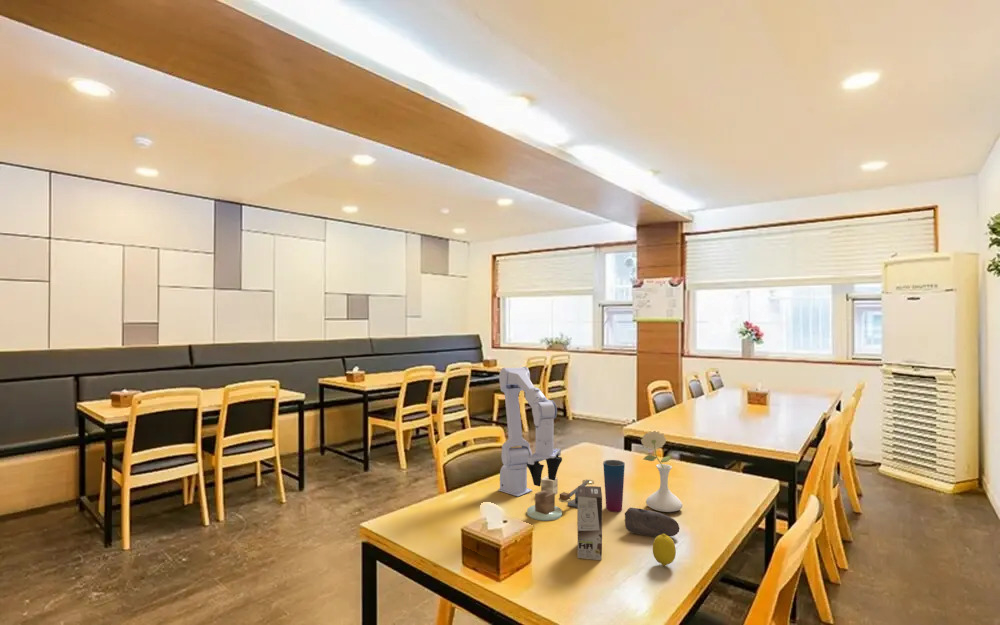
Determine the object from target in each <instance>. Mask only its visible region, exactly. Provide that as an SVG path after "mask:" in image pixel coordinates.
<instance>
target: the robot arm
mask: <svg viewBox="0 0 1000 625" xmlns="http://www.w3.org/2000/svg"><path fill="white" fill-rule="evenodd" d="M498 377H499V378H498V380H499V387H500V391H501V392H502V393H504V400H505V411H506V413H505V414H506V421H507V422H506V423H507V425H506V426H507V432H508V434H507V436H508V439H507V440H505V442H504V443H503V444H502V445H501V455H500V456H501V462H502V464H503V465H502V466H501V468H500V471H499V488H498V491H499V492H503V493H506V494H508V495H512V496H515V497H520V496H523V495H525V494H527V493H531V492H533V489H531V488H529V487H528V485H527V484H528V480H527V479H528V470H529V472H530V475H531V478H532V483H533V485H534V486H537V487H541V479H542V475H543V470H544V467H545V465H544V464H542V463H540V462H542V461H545V462H546V466H547V476H548V477H549V479H550V480H555V478H557V473H558V470H559V467H560V466H561V463H562V462H563V457H561V452H562V451H561V449H560V448H554V445H555V444H554V439H555V436H554V435H555V434H554V430H555V428H554V427H555V426H554V423H555V422H554V419H556V418H557V415H558V408H557V404H556V402H555V401H554V400H552V399H551V400H550V399H548V398H547V397H546V396H545V394H544V393H543V392H542V391H541V389H540V388H539V387H535V386H534V384H533V383H532V381H531V373H530V369H529V368H528V367H527V366H523V367H520V366H519V367H502V368H501V369H500V372H499V376H498ZM521 391H523V393H524V395H525V396H524V398H525V400H526V402H527V403H528V405H529V406H530V407H531V411H532V412H531V413H532V417H533V424H534V426H535V452H534V453H532V449H531V447H530V446H531V445H530V442H528V440H526V439H524V438H523V431H522V430H523V429H522V420H521V410H520V399H519V394H520V392H521Z"/></svg>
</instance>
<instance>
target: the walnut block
mask: <svg viewBox="0 0 1000 625" xmlns="http://www.w3.org/2000/svg"><path fill="white" fill-rule="evenodd" d="M555 496H556V495H555V493H552V492H549V491H545V490H543V491H541V490H540V491H538V492H536V493H535V492H534V505H535V511H537V512H540V513H543V514H546V515H547V514H549V513H551V512H553V511H555V506H556V502H555V501H556V500H555V499H556V497H555Z"/></svg>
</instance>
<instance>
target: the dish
mask: <svg viewBox="0 0 1000 625" xmlns="http://www.w3.org/2000/svg"><path fill="white" fill-rule="evenodd" d="M526 514H527V517H529V518H531V519H533V520H537V521H544V522H547V521H548V522H549V521H555V520H559V519H560V518H561V517H562V516H563V510H562V509H561V507H559V506H557V505H555V511H553V512H551V513H549V514H547V515H546V514H543V513H540V512H537V511H535V504H534V505H531V506H529V507H528V508H527V510H526Z"/></svg>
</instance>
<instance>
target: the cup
mask: <svg viewBox="0 0 1000 625" xmlns="http://www.w3.org/2000/svg"><path fill="white" fill-rule="evenodd" d="M602 465H603V478H604V479H603V480H604V481H603V482H604V494H605V510H607V511H609V512H612V513H618V512H622V510H623V499H624V485H625V484H624V482H625V465H626V464H625V462H624V461H622V460H619V459H606V460H604V461H603V463H602Z"/></svg>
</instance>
